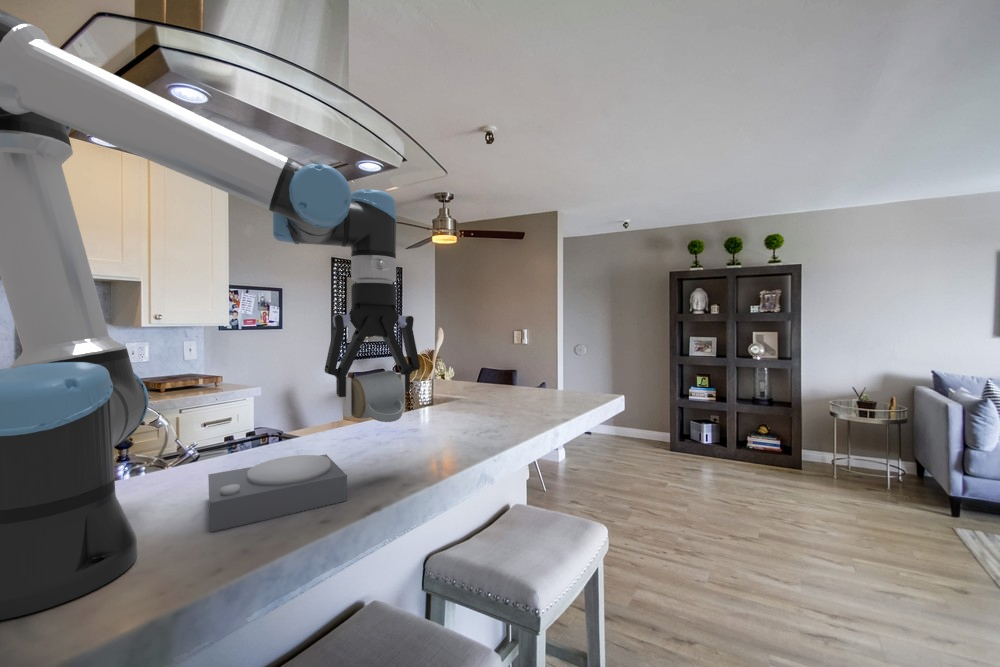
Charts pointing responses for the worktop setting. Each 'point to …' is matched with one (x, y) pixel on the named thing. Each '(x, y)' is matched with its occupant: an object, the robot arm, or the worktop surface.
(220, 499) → the grey oval-top base
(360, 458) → the worktop surface
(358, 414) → the ceramic mug
